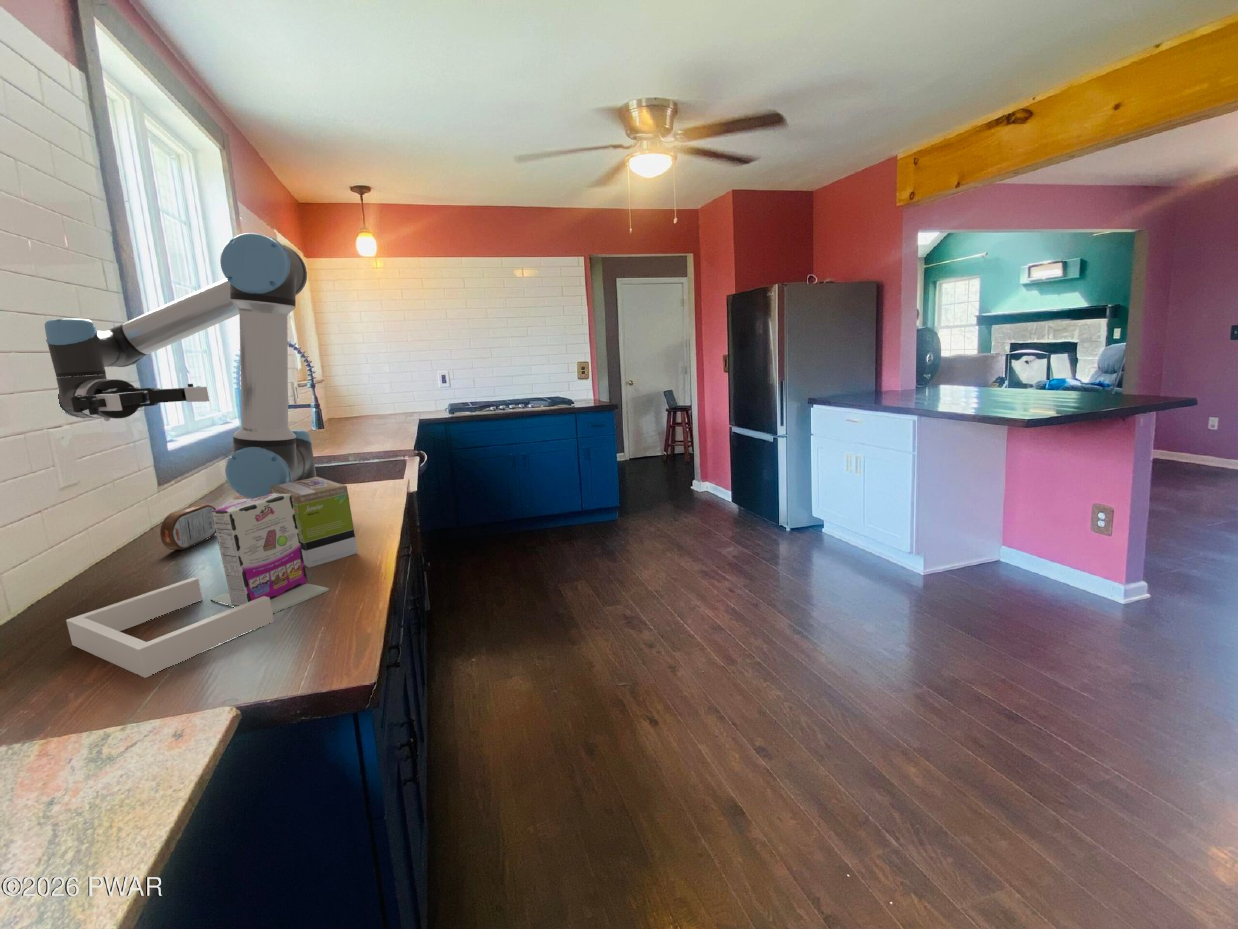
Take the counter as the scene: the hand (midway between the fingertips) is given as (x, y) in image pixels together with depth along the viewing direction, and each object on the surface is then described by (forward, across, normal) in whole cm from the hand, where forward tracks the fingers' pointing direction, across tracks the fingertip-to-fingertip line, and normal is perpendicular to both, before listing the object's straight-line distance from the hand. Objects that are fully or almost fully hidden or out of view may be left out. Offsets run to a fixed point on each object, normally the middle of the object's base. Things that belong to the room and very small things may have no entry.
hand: (164, 398), depth 105 cm
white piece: (+21, +14, -34) cm, 42 cm away
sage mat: (+21, 0, -34) cm, 40 cm away
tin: (-27, -12, -34) cm, 45 cm away
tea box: (+9, -18, -34) cm, 40 cm away
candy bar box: (+21, 0, -34) cm, 40 cm away
